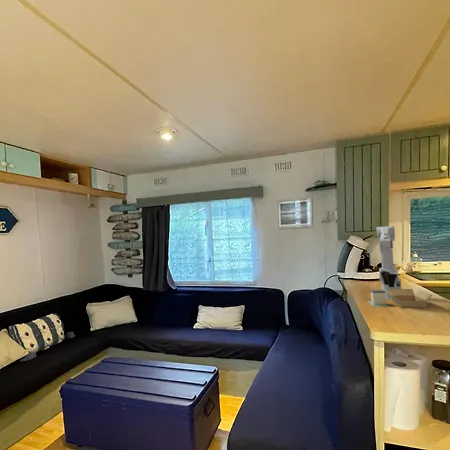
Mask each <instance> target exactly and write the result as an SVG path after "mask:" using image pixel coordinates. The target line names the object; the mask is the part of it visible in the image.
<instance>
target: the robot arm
mask: <svg viewBox="0 0 450 450" xmlns="http://www.w3.org/2000/svg"><path fill="white" fill-rule="evenodd" d="M376 237H377V241H378V245H379V250H380V260H381V267H380V268H379V270H378V271H379V272H378V275H379V277H378V278H379V282H380V283H382V284H381V290H385V297H386V300H391V296H390V295H389V294H388V293H387V292H389V289H397V285H396V284H397V282H399V278H400V276H399V271H398V269H397V268H396V267H395V266H394V253H393V251H394V250H393V249H394V242H395V238H396V230H395V226H394V225H390V226H389V225H388V226H387V225H386V226H377V227H376ZM386 291H387V292H386Z"/></svg>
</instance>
